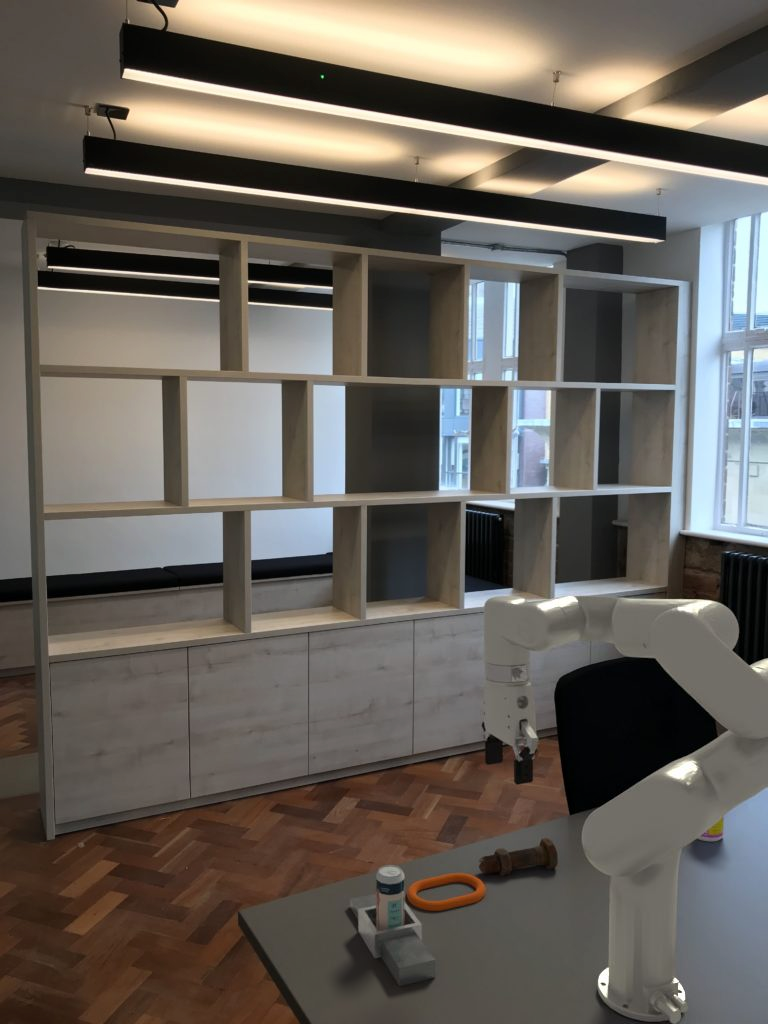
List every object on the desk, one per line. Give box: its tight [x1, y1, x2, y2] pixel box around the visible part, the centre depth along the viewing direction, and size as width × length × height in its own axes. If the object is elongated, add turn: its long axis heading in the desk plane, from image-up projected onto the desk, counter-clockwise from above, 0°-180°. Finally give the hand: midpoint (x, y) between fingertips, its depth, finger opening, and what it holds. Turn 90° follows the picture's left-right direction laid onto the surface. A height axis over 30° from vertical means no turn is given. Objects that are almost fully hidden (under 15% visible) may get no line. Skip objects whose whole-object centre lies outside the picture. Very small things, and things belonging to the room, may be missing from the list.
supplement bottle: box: [696, 816, 725, 843], centre depth 181 cm, size 7×7×13 cm
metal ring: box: [406, 872, 487, 912], centre depth 158 cm, size 10×2×15 cm
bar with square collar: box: [349, 893, 436, 987], centre depth 143 cm, size 24×8×4 cm, turn 20°
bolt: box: [478, 837, 559, 876], centre depth 167 cm, size 6×5×15 cm
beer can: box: [375, 864, 406, 931], centre depth 143 cm, size 5×5×12 cm
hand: (508, 772), depth 143 cm, fingers open, 9 cm apart
